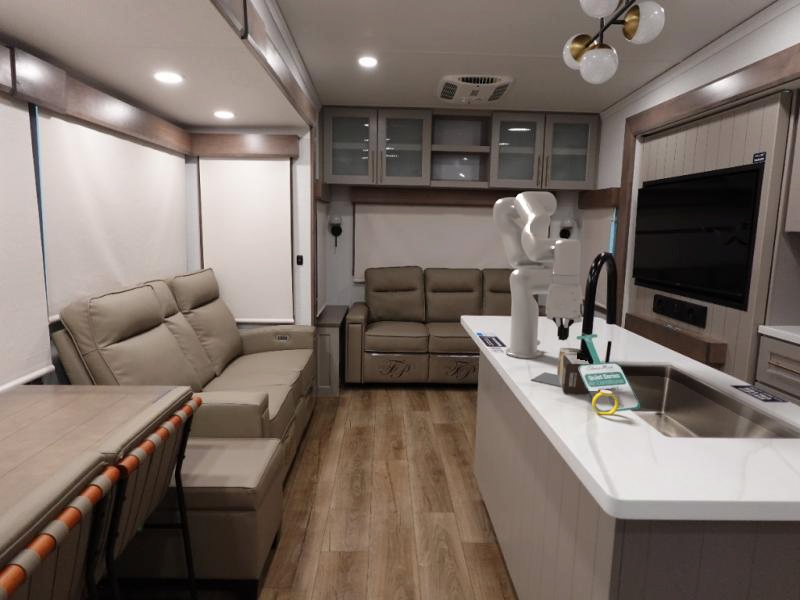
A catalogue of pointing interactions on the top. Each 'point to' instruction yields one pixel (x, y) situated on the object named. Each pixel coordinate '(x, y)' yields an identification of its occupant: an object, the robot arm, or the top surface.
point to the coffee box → (570, 371)
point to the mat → (547, 379)
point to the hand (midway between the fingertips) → (562, 339)
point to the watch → (606, 393)
